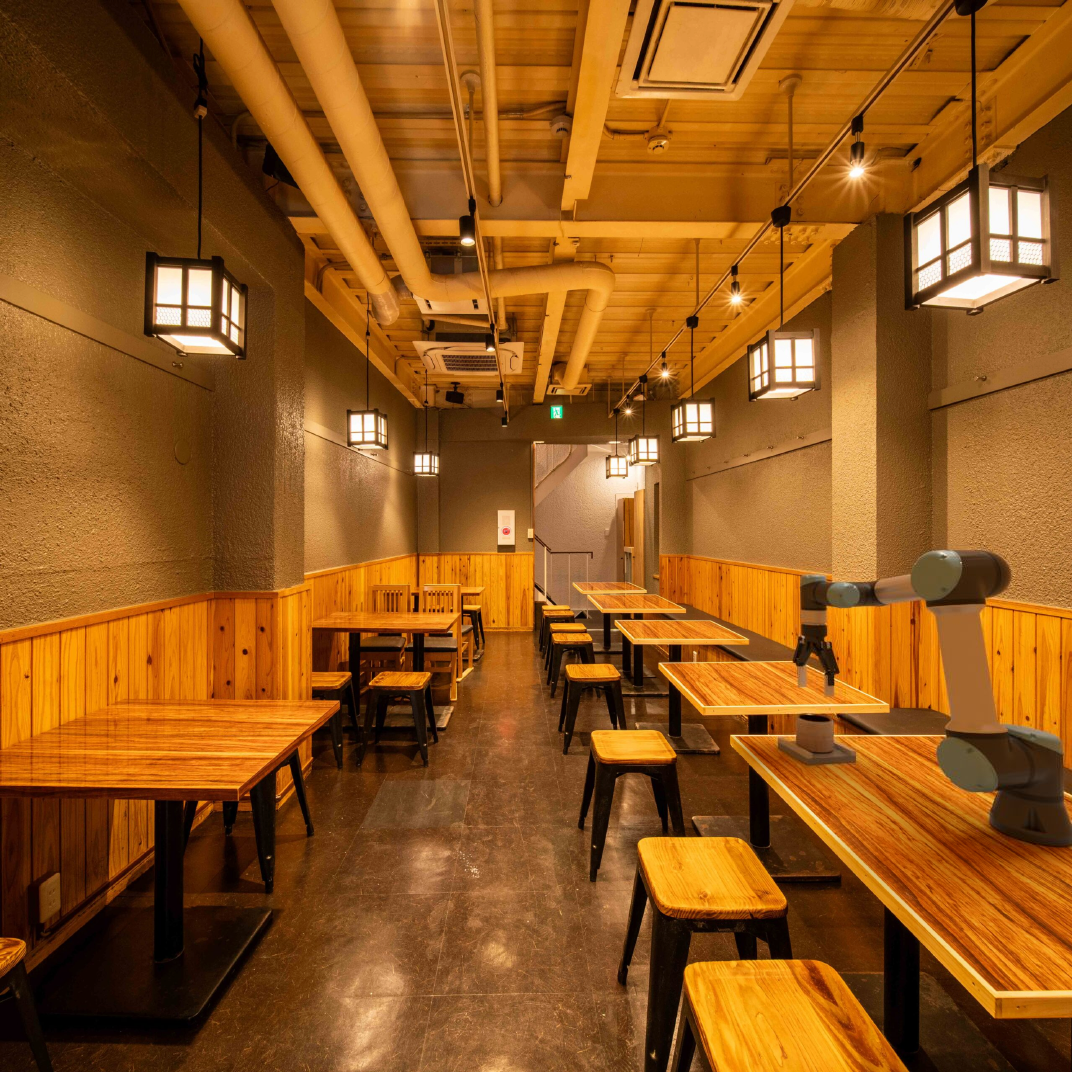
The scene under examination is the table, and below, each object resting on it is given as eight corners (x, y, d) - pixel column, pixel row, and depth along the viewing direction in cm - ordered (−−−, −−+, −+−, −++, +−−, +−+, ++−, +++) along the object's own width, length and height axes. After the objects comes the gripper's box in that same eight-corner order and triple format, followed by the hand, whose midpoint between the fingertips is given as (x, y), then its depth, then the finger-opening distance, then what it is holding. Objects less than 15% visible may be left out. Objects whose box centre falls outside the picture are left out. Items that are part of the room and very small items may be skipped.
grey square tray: (856, 762, 179) (856, 751, 180) (807, 765, 177) (807, 753, 177) (822, 745, 195) (822, 734, 195) (777, 747, 193) (777, 737, 193)
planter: (798, 752, 183) (797, 720, 183) (794, 741, 193) (793, 711, 193) (837, 755, 179) (836, 723, 180) (830, 744, 190) (830, 714, 190)
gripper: (851, 627, 175) (853, 700, 175) (801, 619, 200) (802, 682, 199) (828, 628, 174) (830, 701, 173) (780, 619, 199) (781, 683, 198)
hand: (815, 691), depth 186 cm, fingers open, 13 cm apart
